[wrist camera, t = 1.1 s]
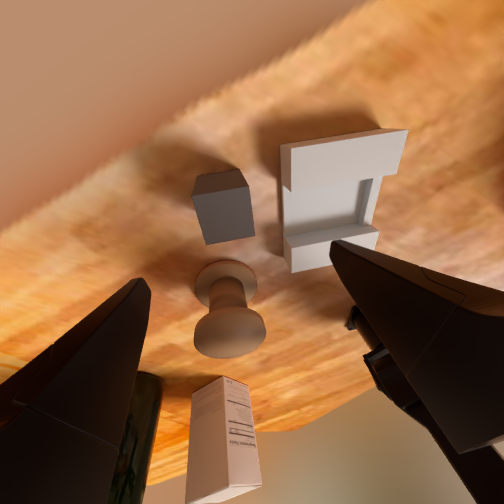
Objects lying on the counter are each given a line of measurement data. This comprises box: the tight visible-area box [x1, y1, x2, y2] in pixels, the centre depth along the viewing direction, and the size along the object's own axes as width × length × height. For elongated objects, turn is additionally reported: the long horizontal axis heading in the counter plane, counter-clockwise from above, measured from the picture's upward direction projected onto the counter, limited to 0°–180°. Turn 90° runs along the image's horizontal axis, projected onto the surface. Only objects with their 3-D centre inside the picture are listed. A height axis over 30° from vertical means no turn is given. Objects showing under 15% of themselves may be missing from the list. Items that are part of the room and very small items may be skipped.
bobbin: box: [194, 260, 266, 359], centre depth 23 cm, size 8×8×8 cm
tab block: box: [191, 169, 255, 245], centre depth 17 cm, size 4×4×6 cm
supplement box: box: [185, 376, 262, 504], centre depth 37 cm, size 9×9×15 cm
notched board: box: [280, 128, 409, 273], centre depth 21 cm, size 13×10×3 cm
